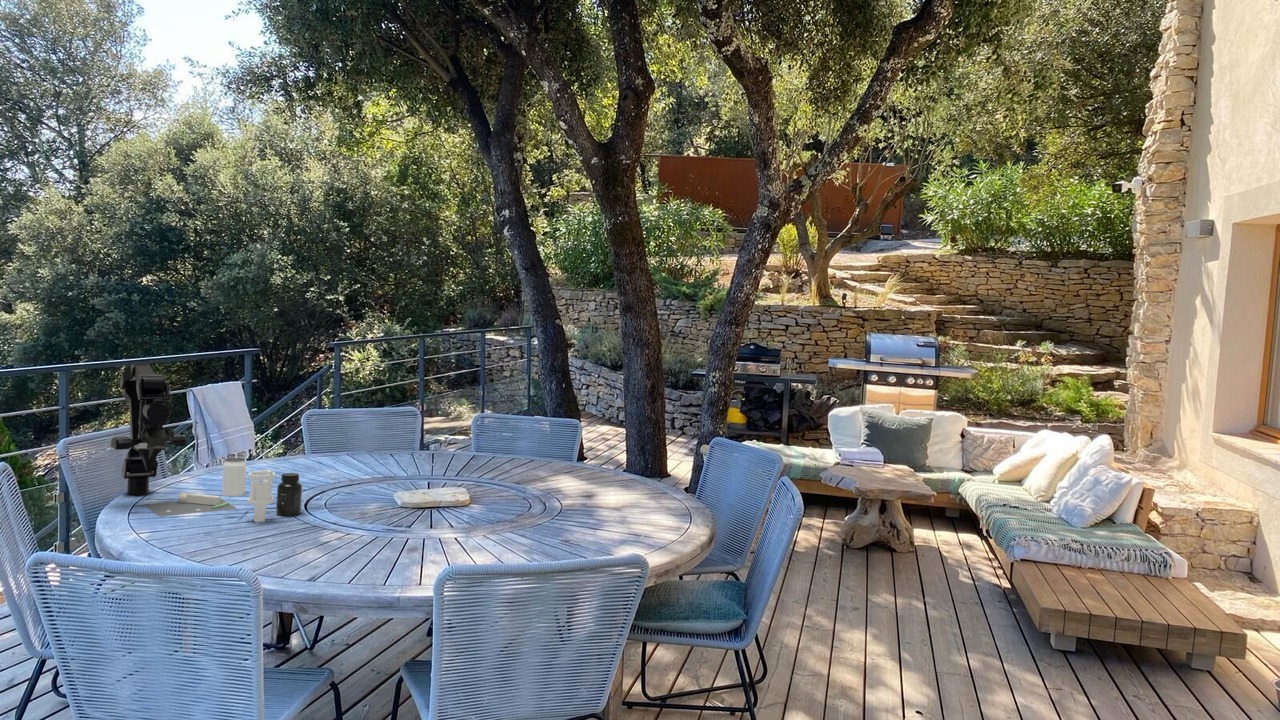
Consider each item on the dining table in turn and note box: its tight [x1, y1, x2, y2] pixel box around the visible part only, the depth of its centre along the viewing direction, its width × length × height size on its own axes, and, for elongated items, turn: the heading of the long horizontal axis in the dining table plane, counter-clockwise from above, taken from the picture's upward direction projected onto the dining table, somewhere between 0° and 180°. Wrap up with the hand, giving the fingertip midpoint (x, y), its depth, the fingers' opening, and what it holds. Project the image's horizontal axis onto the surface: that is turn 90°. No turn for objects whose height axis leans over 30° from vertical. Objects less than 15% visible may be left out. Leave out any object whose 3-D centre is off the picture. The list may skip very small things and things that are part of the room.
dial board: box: [142, 497, 238, 518], centre depth 252 cm, size 16×21×2 cm
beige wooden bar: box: [177, 492, 221, 506], centre depth 256 cm, size 13×3×2 cm, turn 84°
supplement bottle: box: [275, 472, 303, 517], centre depth 256 cm, size 7×7×12 cm
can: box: [221, 457, 247, 497], centre depth 271 cm, size 6×6×12 cm
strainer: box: [246, 469, 276, 523], centre depth 246 cm, size 7×7×15 cm
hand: (148, 470), depth 251 cm, fingers closed
